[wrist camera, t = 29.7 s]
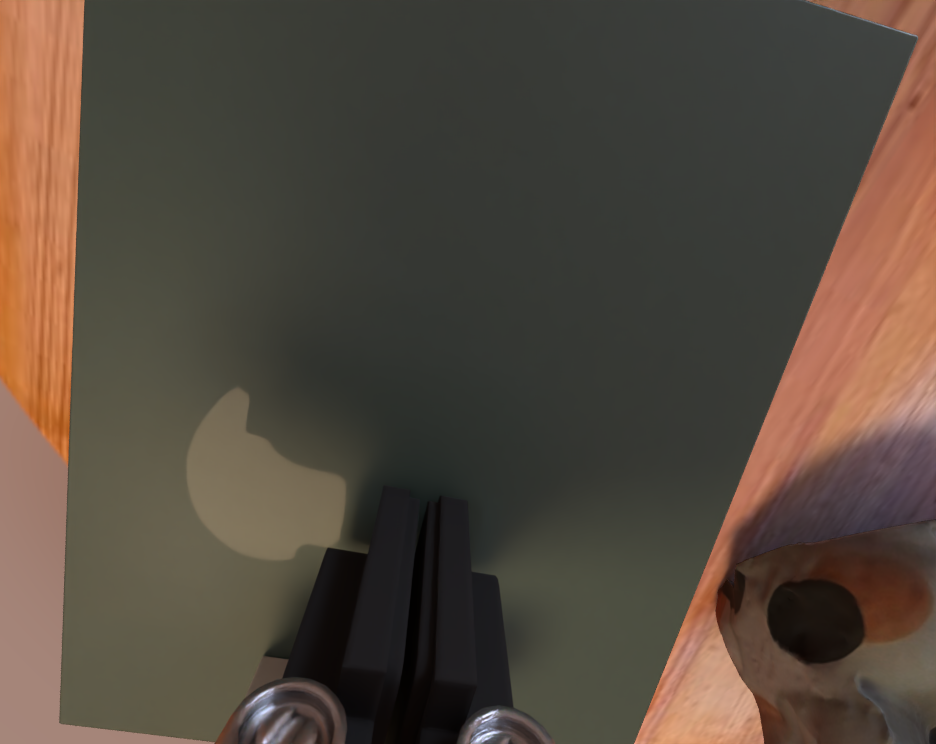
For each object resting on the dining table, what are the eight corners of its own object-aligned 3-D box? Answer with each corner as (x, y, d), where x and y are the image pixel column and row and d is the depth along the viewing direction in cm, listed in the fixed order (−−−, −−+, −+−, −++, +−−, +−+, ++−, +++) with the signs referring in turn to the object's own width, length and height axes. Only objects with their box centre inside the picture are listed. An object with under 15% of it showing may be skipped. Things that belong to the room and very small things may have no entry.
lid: (605, 757, 13) (691, 1028, 9) (83, 692, 12) (-134, 975, 7) (880, 51, 9) (1308, -121, 5) (126, -182, 8) (-317, -763, 3)
